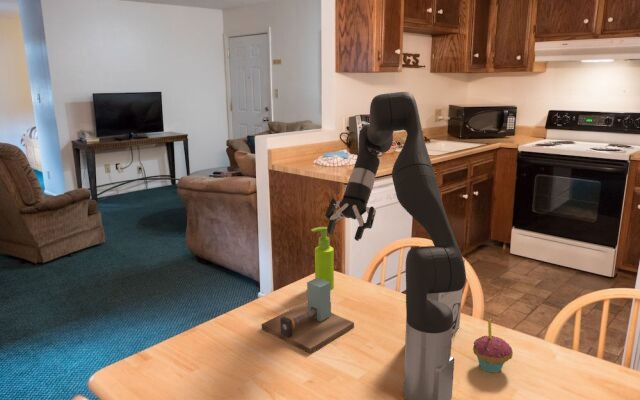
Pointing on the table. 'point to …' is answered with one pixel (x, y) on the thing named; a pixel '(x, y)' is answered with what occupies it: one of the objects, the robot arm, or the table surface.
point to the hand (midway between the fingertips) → (342, 236)
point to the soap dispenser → (324, 258)
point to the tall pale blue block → (319, 298)
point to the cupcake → (492, 351)
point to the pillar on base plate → (307, 328)
